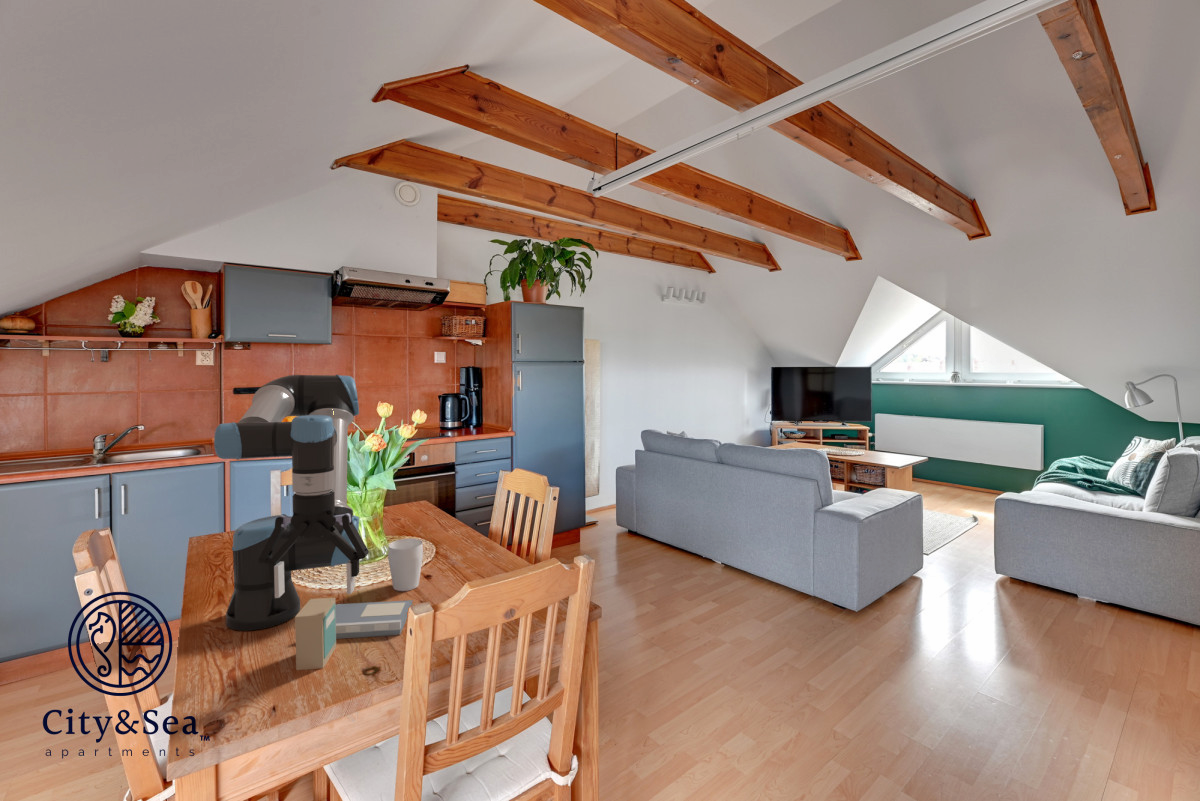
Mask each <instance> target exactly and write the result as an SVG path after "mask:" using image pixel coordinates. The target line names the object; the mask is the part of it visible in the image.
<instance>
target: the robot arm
mask: <svg viewBox="0 0 1200 801" xmlns="http://www.w3.org/2000/svg"><path fill="white" fill-rule="evenodd" d="M332 409H333V410H332ZM333 411H334V415H333ZM359 414H360V406H359V399H358V390H357V386H356V381H355V378H353V376H351V375H340V374H335V375H331V374H330V375H329V374H328V375H326V374H325V375H323V374H321V375H319V374H290V375H285V376H283V377H278V378H276V379H272V380H271V381H268V382H266V383H265V384H263V385H262V386H261V387H259V388H258V389H257V391H255V393H254V394H253V396H252V401H251V405H250V407H249V408H248V409H247V410H246V412H245V413H244V415H242V417H241V418H240V419H239V421H238V422H235V421H232V422H225V423H220V424H219V425H217V426H216V428H215V431H214V437H213V444H214V447H213V448H214V452H215V455H216V456H217V458H219V459H222V460H245V459H246V460H248V459H263V458H265V459H266V458H282V457H283V458H287V457H291V460H292V461H291V462H292V463H291V464H292V470H291V478H292V479H291V481H292V488H291V489H292V492H294V494H293V495H292V516H289V515H287V514H286V513H285V514H281V515H280V514H279V515H278V514H277V515H271V516H265V517H262V518H257V519H254V520H250V521H248V522H246V523H243V524H242V525H240V526H239V527H238V528H236V529H235V531H234V532H233V535H232V537H233V538H232V547H231V550H232V558H233V559H232V561H233V562H232V563H233V564H232V565H233V585H234V586H233V587H234V588H233V592H232V595H231V599H230V601H229V604H228V607H227V610H226V614H225V625H226V626H227V628H229V629H231V630H235V631H241V632H242V631H246V632H247V631H257V630H262V629H268V628H271V627H275V626H277V625H280V624H284V623H285V622H287V621H289V620H291V619H293V618H295V616H296V615H297V614H298V613H299V612H300V611H301V599H300V596H299V594H298V591H297V588H296V586H295V584H294V582H293V578H292V572H293V571H302V570H310V569H317V568H326V567H331V568H334V567H336V566H341V565H346V566H345V567H346V595H351V594H352V593H353V592H354V590H355V589H356V588H355V586H356V585H355V582H356V581H355V579H356V578H355V577H358V575H359V574H360V560H363V559H366V557H367V556H368V555H369V549H368V547H367V545H366V544H365V542H364V541H363V538H362V537H361V535H360V532H359V526H360V518H359V516H356V515H354V510H353V508H352V507H350V506H349V505H348V501H347V500H348V497H347V496H348V434H349V432H348V427H349V425H351V424H352V423H353V421H354V417H356V416H358V415H359ZM288 417H293V418H292V420H291V421H283V420H284V419H285V418H288Z"/></svg>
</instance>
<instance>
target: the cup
mask: <svg viewBox="0 0 1200 801" xmlns="http://www.w3.org/2000/svg"><path fill="white" fill-rule="evenodd" d="M423 548H424V546H423V541H422V540H421V539H417V538H402V539H397V540H394V541H391V542H390V543H389V544H388V551H387V553H388V554H387V558H388V564H389V570H390V571H389V572H390V577H391V583H392V589H393V590H395V591H397V592H408V591H412V590H414V589H416V588H418V587H419V585H420V578H421V570H422V564H423V556H424V549H423Z"/></svg>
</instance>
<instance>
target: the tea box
mask: <svg viewBox="0 0 1200 801" xmlns="http://www.w3.org/2000/svg"><path fill="white" fill-rule="evenodd" d="M294 623H295V624H294V626H295V627H294V628H295V631H294V633H295V669H296V670H295V671H301V670H302V671H303V670H315V669H324V667H325V666H326V664H327V662H328V661H329V659H330V658H331V656H332V654H333V653H334V652H335V650H336V648H337V639H336V597H321V598H310V599H308V601H307V603H306V604H305V605H304V606H303V607H302V608H300V611H299V613H298V614H297V615H295V616H294Z"/></svg>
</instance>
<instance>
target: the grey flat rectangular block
mask: <svg viewBox="0 0 1200 801" xmlns="http://www.w3.org/2000/svg"><path fill="white" fill-rule="evenodd" d="M412 602H413V599H412V600H393V601H375V602H374V601H373V602H372V601H370V602H353V603H337V604H336V640H340V639H351V638H352V639H353V638H355V639H356V638H369V637H385V636H386V637H388V636H399V635H398V634H400V635H401V633H402V631H403V629H404V628H405V624H406V622H407V620H408V617H407V612H408V608H409V607H410V606H411V605H412V604H414V603H412ZM412 606H413V605H412ZM406 619H407V620H406Z"/></svg>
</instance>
